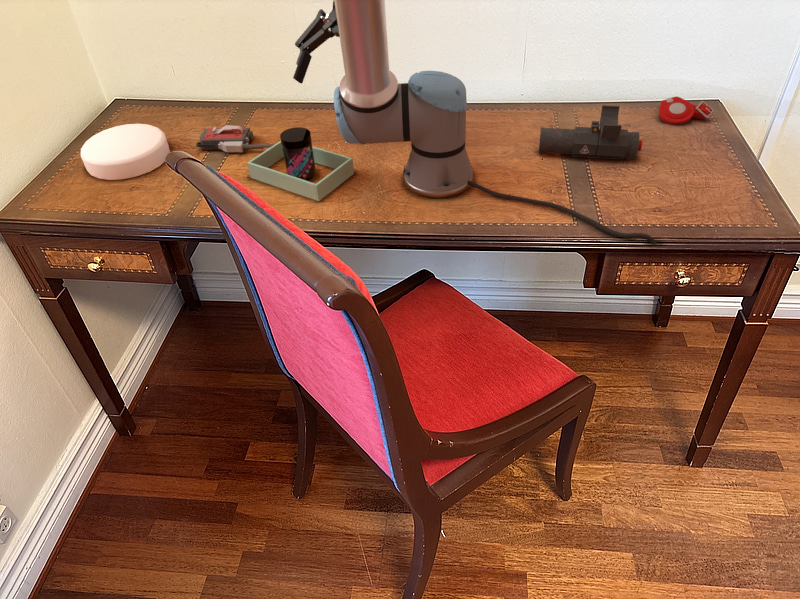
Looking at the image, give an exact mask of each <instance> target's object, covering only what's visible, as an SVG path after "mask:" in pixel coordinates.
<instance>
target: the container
mask: <svg viewBox="0 0 800 599" xmlns="http://www.w3.org/2000/svg"><path fill="white" fill-rule="evenodd" d="M168 153H170V154H171V150H170V145H169V143H168V139H167V137H166V133H165V132H164V131H163V130H162V129H160V127H157V126H154V125H151V124H147V123H127V124H121V125H116V126H113V127H110V128H107V129H104V130H102V131H99V132H98V133H96V134H93V135H92V136H91V137H90V138H88V139H87V140H86V141H85V142H84V143H83V145H82V146H81V149H80V158H81V160H82V163H83V165H84V168H85V169H86V171H87V172H88V174H89V175H90V176H92V177H94V178H97V179H99V180H108V181H117V180H118V181H119V180H127V179H131V178H136V177H140V176H142V175H145V174H148V173H150V172H152V171H153V170H155V169H157V168H159V167H160V166H161V165H163V164H164V163H165V162H166V161H165V157H166V155H167V154H168Z"/></svg>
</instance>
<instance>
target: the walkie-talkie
mask: <svg viewBox="0 0 800 599" xmlns="http://www.w3.org/2000/svg"><path fill="white" fill-rule="evenodd" d="M253 139H254V133H253V131H252V130H251V128H250V127H243V126H242V125H239V124H235V125H233V124H232V125H230V124H229V125H224V126H223V127H219V128H218V127H217V126H214V127H212V128H204V129H203V130H202V133H200V136H199V141H198V142H196V143H195V145H196V147H197V148H202V149H203V150H204V151H206V150H207V151H209V150H213V151H215V150H220V151H223V152H225V153H243V152H244V151H247V150H263V149H269V148H270V147H272V146H273V145H274V144H273V143H272V144H271V143H269V144H268V143H267V144H249V143H250V141H251V140H253Z"/></svg>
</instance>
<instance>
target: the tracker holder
mask: <svg viewBox="0 0 800 599" xmlns="http://www.w3.org/2000/svg"><path fill="white" fill-rule="evenodd" d="M714 111H715V110H714V109H713V108H712V107H711V106H710V105H708V104H707V103H706V102H705V101H704V100H702V101H701V102H699V103H698V104H693V103H691V102H690V101H688V100H686V99H684V98H682V97H679V96H673V97H670V98H666V99H662V100H661V101H660V105H659V109H658V117H659V119H660V120H661V121H662V122H663V123H665V124H669V125H676V126H677V125H682V124H683V125H684V124H685V123H687V122H689V121H690V120H691V119H699V120H705V119H708V118H709V117H710V116H711V115H712V114H713V113H714Z"/></svg>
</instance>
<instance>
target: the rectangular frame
mask: <svg viewBox="0 0 800 599" xmlns="http://www.w3.org/2000/svg"><path fill="white" fill-rule="evenodd" d="M312 147H313V154H314V160H315V164H318V165H321V166H324V167H328V168H331V169H334V170H332V171H331V172H329V173H328V174H327V175H326V176H324V177H323V178H322V179H320V180H319V181H318V182H316V183H314V182H311V181H310V180H309V181H306V180H303V179H300V178H297V177H294V176H291V175H288V174H287V173H285V172H282V171H278V170H276V169H272V168H270V167H272V166H273V165H274V164H276V163H277V162H279V161H281V160H282V159H284V154H283V149H282V144H281V140H280V141H278V142H276V143H275V144H273V146H272V147H270V148H266V150H264V151H262V152H261V153H259V154H257V156H255V157H253V158H252V159H250V160H249V161H247V162H246V164H247V169H248V173H249V177H250V179H252V180H256V181H258V182H261V183H264V184H267V185H270V186H273V187H276V188H279V189H282V190H285V191H287V192H290V193H294V194H295V195H299V196H302V197H305V198H307V199H311V200H314V201H317V202H320V201H321V200H323V198H325V197H326V196H328V195H330V193H332V192H333V191H334V190H335V189H336V188H338V187H339V186H341V184H343V183H344V182H346V180H348V179H349V178H350V177H352V176H353V175H354V174H355V166H354V158H353V157H351V156H346V155H344V154H340V153H337V152H334V151H330V150H327V149H323V148H319V147H317V146H315V145H314V146H313V145H312Z"/></svg>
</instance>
